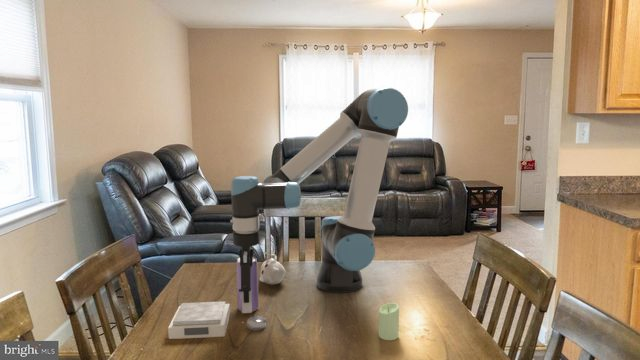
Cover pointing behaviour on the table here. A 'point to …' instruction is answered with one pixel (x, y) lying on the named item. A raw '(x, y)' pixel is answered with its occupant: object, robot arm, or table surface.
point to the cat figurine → (272, 271)
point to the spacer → (256, 323)
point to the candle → (389, 321)
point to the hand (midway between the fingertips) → (248, 305)
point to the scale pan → (199, 313)
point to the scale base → (200, 328)
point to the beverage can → (253, 284)
